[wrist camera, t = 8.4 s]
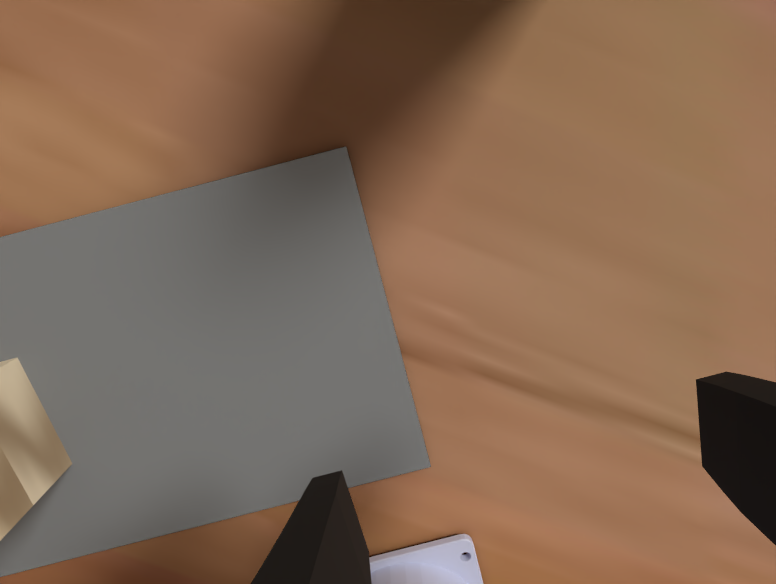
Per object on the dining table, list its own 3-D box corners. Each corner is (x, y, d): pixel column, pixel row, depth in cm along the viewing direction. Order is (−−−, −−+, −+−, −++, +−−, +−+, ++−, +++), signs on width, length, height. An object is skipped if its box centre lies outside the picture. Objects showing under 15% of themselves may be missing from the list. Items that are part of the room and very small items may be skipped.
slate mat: (429, 462, 21) (430, 466, 21) (-62, 588, 22) (-68, 594, 21) (346, 146, 17) (346, 146, 17) (-253, 303, 18) (-263, 306, 17)
